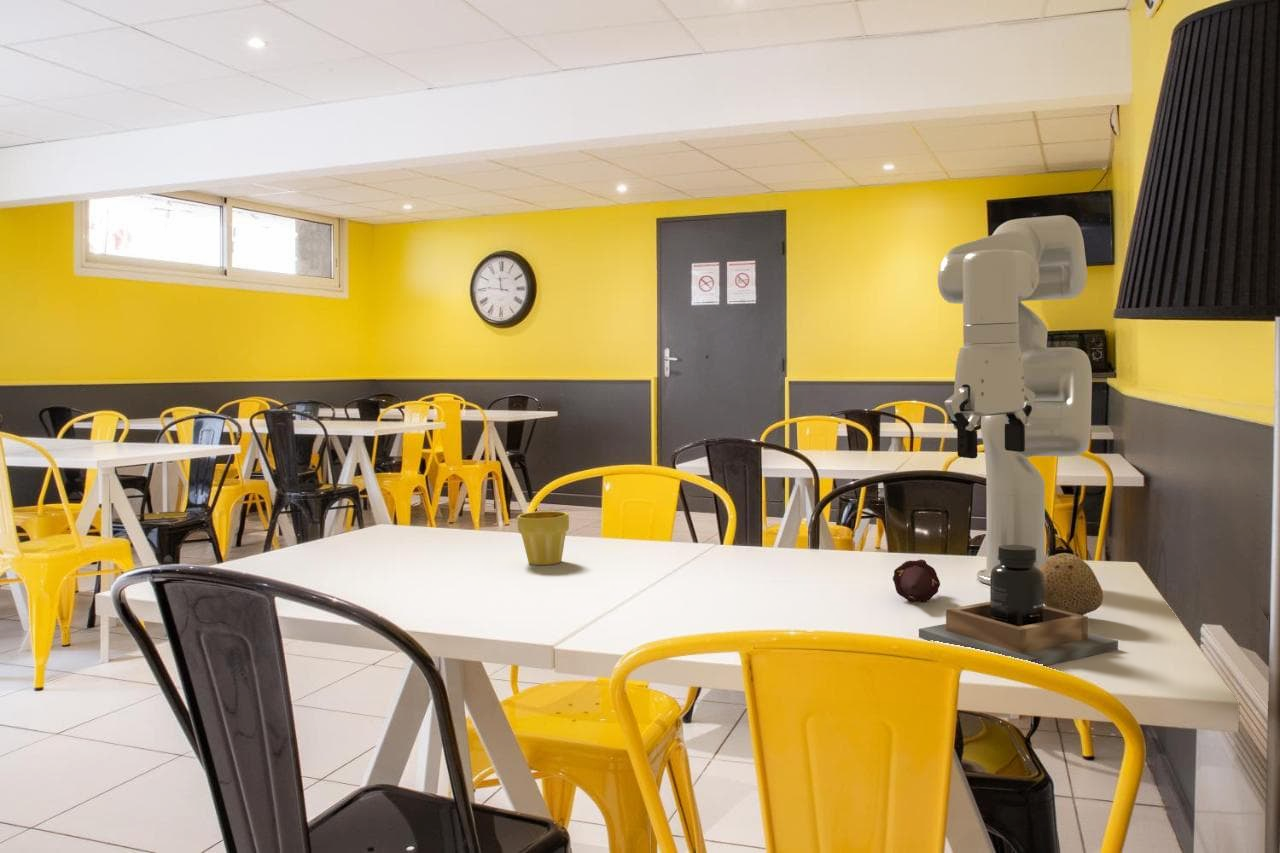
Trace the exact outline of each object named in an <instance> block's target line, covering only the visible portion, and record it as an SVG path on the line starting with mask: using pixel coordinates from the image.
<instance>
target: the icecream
mask: <svg viewBox="0 0 1280 853" xmlns="http://www.w3.org/2000/svg"><path fill="white" fill-rule="evenodd" d="M892 581H893V584H894V587H895V591H896V593H897V594H898V595H899V596H901V597H902V598H903V599H905V600H907V601H908V602H910V603H927V602H929V601H930V600H931V599H932V598H933V597H934V596H935V595H937V593H938V592H939V588H940V586H941V582H940V579H939V577H938V575H937V572H936V570H935V568H933V567H932V566H931V565H930V564H928V563H927V562H926V560H925V559H922V558H921V559H918V560H907V561H905V562H903V563H902V564H901V565H899V566H898V567H896V568H895V569H894V571H893V576H892Z"/></svg>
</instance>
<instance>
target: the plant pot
mask: <svg viewBox="0 0 1280 853" xmlns="http://www.w3.org/2000/svg"><path fill="white" fill-rule="evenodd" d="M516 520H517V522H516V523H517V532H518V533H519V534H520V535H521V538H522V542H523V546H524V550H525V554H526V558H527V561H528V562H527V563H528V564H529V565H531V566H532V565H533V566H551V565H556V564H560V563H561V561H562V560H563V559H562V558H563V553H564V546H565V539H566V533H567V532H568V531H569V529H570V518H569V513H568V512H565V511H557V510H542V511H531V512H530V511H529V512H525V513H522V514H519V515H517V518H516Z"/></svg>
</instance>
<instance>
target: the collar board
mask: <svg viewBox="0 0 1280 853" xmlns="http://www.w3.org/2000/svg"><path fill="white" fill-rule="evenodd" d="M918 638H920V639H923V640H926V639H927V640H926V641H929V640H933V641H939V642H943V643H949V644H954V645H960V646H964V647H971V648H975V649H980V650H985V651H990V652H994V653H998V654H1002V655H1005V656H1011V657H1014V658H1019V659H1023V660H1028V661H1031V662H1035V663H1038V664H1043V665H1046V666H1049V665H1055V664H1059V663H1063V662H1068V661H1072V660H1077V659H1081V658H1085V657H1090V656H1096V655H1100V654H1104V653H1108V652H1113V651H1117V650H1119V640H1117V639H1113V638H1109V637H1107V636H1103V635H1099V634H1098V635H1097V634H1094V633H1091V632H1089V617H1088V616H1086V615H1079V614H1075V613H1071V612H1067V611H1063V610H1059V609H1055V608H1051V607H1047V606H1045V605H1043V622H1040V623H1035V624H1030V625H1025V626H1020V627H1018V626H1014V625H1011V624H1007V623H1004V622H1000V621H997V620H993V619H990V601H985V602H980V603H973V604H969V605H968V604H967V605H963V606H956V607H952V608H946V609H945V623H944V624H943V623H942V624H938V625H937V624H936V625H932V626H927V627H923V628H922V627H921V628H918Z"/></svg>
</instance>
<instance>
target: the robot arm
mask: <svg viewBox="0 0 1280 853" xmlns="http://www.w3.org/2000/svg"><path fill="white" fill-rule="evenodd" d="M1084 242H1085V241H1084V237H1083V233H1082V230H1081V227H1080V225H1079V223H1078V222H1077V221H1076V220H1075V219H1074V218H1073V217H1072V216H1070V215H1069V216H1068V215H1065V214H1062V215H1061V214H1059V215H1049V216H1036V217H1035V216H1034V217H1025V218H1024V217H1023V218H1015V219H1010V220H1007V221H1005V222H1003V223H1002V224H1000V225H999V226H997V228H996V229H995V230H994V231H993V233H992V235H989V236H988V235H987V236H985V237H982V238H979V239H976V240H974V241H969V242H966V243H962V244H959V245H957V246H955V247H952V248H951V249H950V250H948V251H947V253H945V256H944V257H943V258H942V261H941V263H940V265H939V269H938V273H937V286H938V291H939V294H940V295H941V297H942V298H943V299H944V301H946V302H948V303H950V304H957V305H958V304H959V305H960V304H962V320H963V321H962V329H963V330H962V333H963V340H962V341H963V342H962V343H963V346H962V347H959V349H958V353H957V354H958V355H957V359H956V366H955V373H954V374H955V375H954V387H953V388H954V389H953V390H954V391H953V394H952V395H951V396H949V397H948V398H947V399H946V400H945V401H944V402H943V403H944V407H945V409H946V412H947V414H948V419H949V421H950V422H951V423H952V424H953V429H954V430H956V431H957V432H956V433H957V434H956V437H957V438H956V440H957V441H956V442H957V446H956V447H957V450H956V451H957V453H956V454H957V456H958V458H967V459H972V460H973V459H977V457H978V430H976V429H975V427H976V426H977V424H978V423H979V420H980V430H981V431H980V432H981V438H982V443H983V449H984V450H983V451H984V459H985V470H986V471H985V474H986V476H985V477H986V480H985V481H986V482H985V483H986V490H985V491H986V568H983V569H980V570H979V571H977V574H976V576H977V581H980V582H981V583H983V584H987V585H990V576H991V571H992V569H993V568H994V567H995V566H996V565H998V564H1000V561H999V560H998V548H999V546H1002V545H1024V546H1030V547H1034V548H1036V562H1035V563H1034V566H1036V567H1037V568H1040V567H1041V566H1042V564H1043V563H1044V562H1045V561H1047V560H1048V559H1049V558H1051V557H1052V556H1053V555H1049V554H1047V553H1046V552H1045V546H1046V545H1045V541H1046V540H1045V539H1046V538H1045V536H1046V534H1045V533H1046V532H1045V531H1046V529H1045V528H1046V526H1045V525H1046V523H1045V522H1046V517H1045V516H1046V515H1045V512H1046V511H1045V510H1046V504H1045V503H1046V497H1045V495H1046V487H1045V486H1046V485H1045V480H1044V478H1043V476H1042V474H1041V473H1040V471H1039V470H1038V469H1037V467H1036V466H1035V465H1034V464H1033V463H1032V462H1031V460H1030V459H1029V458H1030V457H1059V458H1060V457H1076V456H1081V455H1083V454H1084V453H1085V452H1086V451H1087V450H1088V448H1089V445H1090V441H1091V432H1092V430H1091V429H1092V428H1091V427H1092V398H1093V397H1092V395H1093V392H1092V389H1093V375H1092V374H1093V373H1092V365H1091V361H1090V358H1089V356H1088V354H1087V353H1086V352H1085V351H1084V350H1082V349H1081V348H1077V347H1072V346H1071V347H1070V346H1069V347H1068V346H1067V347H1066V346H1063V347H1047V344H1048V343H1047V342H1048V327H1047V325H1046V324H1045V323H1044V321H1043V320H1042V319H1041V318H1040V317H1039V316H1038V315H1037V314H1036V313H1035V311H1033V310H1032V309H1031V308H1029V307H1028V306H1026V305H1025V304H1023V303H1022V302H1028V301H1029V302H1030V301H1050V300H1051V301H1052V300H1053V301H1055V300H1069V299H1074V298H1076V297H1078V296H1080V295H1082V293H1083V292H1084V290H1085V289H1086V286H1087V281H1088V280H1087V279H1088V269H1087V260H1086V252H1085V243H1084ZM968 417H969V418H968ZM980 418H981V419H980ZM974 429H975V430H974Z"/></svg>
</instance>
